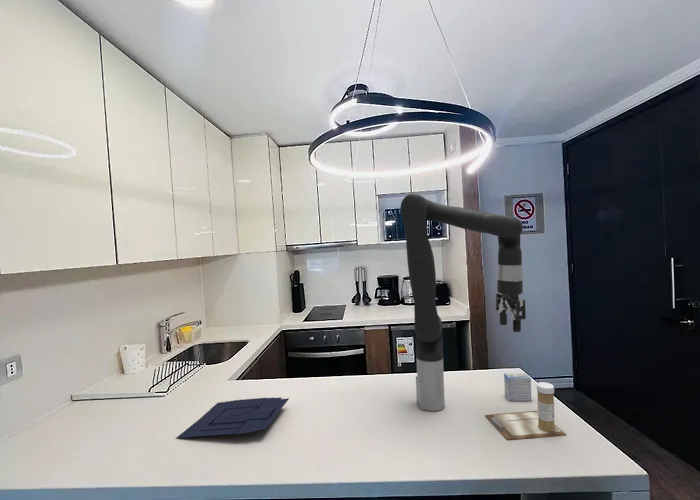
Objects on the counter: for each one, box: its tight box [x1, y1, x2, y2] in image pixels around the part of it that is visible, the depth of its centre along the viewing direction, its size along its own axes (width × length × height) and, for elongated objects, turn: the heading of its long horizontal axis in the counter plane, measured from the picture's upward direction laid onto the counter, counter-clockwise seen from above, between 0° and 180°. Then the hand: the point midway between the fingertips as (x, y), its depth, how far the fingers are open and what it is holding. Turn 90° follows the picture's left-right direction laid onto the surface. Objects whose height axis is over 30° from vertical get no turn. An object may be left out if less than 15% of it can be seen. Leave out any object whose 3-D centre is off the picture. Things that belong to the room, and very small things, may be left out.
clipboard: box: [484, 410, 567, 441], centre depth 108 cm, size 18×14×2 cm
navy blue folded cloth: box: [176, 397, 290, 439], centre depth 118 cm, size 24×30×4 cm
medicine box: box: [503, 372, 532, 402], centre depth 125 cm, size 8×4×9 cm, turn 84°
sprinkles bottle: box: [536, 381, 555, 432], centre depth 104 cm, size 5×5×14 cm
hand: (509, 328), depth 113 cm, fingers open, 8 cm apart
